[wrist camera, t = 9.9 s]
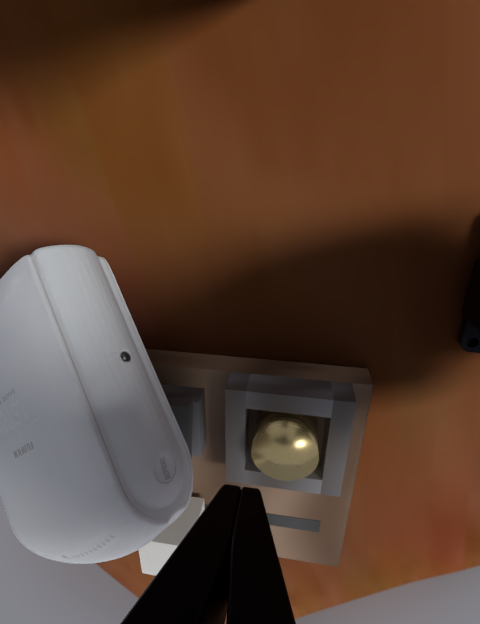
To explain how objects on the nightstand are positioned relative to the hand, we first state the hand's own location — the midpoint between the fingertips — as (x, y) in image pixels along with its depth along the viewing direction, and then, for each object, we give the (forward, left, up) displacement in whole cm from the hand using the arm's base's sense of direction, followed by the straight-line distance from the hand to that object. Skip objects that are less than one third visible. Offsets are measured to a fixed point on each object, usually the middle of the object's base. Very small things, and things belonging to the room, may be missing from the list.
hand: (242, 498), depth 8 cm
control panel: (+1, +10, -11) cm, 15 cm away
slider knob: (+5, +14, -10) cm, 17 cm away
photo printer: (+12, -1, -9) cm, 15 cm away
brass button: (-1, +6, -9) cm, 11 cm away
